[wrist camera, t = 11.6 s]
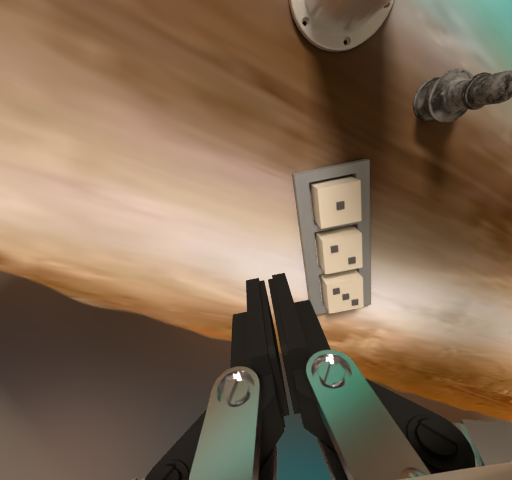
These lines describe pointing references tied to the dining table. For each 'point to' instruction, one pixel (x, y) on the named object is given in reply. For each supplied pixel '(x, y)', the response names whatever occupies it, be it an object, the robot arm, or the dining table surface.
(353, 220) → the tile one
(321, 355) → the robot arm
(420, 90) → the grey turned candlestick
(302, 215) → the board
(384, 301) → the dining table surface
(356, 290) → the tile three
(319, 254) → the tile two
